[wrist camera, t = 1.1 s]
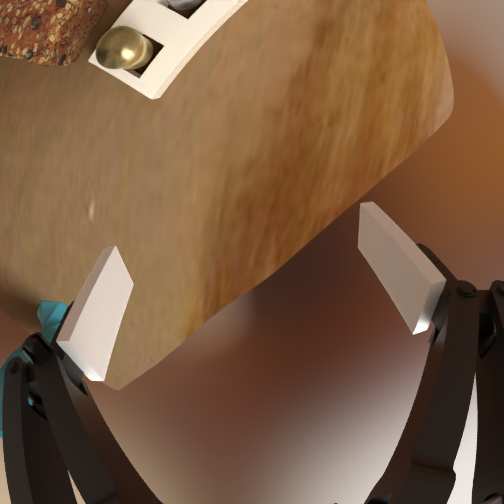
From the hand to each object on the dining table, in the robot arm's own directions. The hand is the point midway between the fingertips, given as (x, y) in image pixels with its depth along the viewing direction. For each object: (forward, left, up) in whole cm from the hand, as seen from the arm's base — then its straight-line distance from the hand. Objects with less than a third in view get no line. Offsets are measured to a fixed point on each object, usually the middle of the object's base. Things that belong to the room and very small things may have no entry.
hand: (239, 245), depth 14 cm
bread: (-34, +2, -24) cm, 42 cm away
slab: (-16, +12, -23) cm, 31 cm away
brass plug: (-16, +3, -19) cm, 25 cm away
